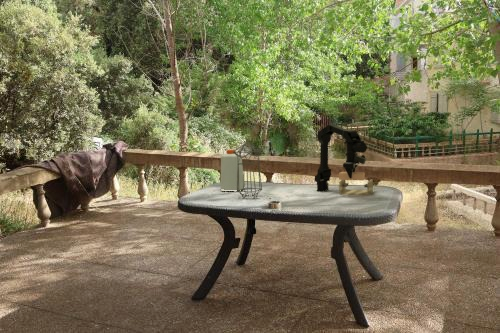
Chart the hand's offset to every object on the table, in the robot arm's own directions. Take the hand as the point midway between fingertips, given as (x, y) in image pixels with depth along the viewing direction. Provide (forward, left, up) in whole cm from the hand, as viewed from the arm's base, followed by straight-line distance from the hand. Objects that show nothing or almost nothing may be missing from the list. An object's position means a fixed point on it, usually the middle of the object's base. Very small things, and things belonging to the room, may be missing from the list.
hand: (351, 177), depth 275 cm
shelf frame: (0, +12, -12) cm, 17 cm away
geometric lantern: (-62, -12, -12) cm, 64 cm away
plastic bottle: (-84, +8, -12) cm, 85 cm away
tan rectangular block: (0, 0, -1) cm, 1 cm away
